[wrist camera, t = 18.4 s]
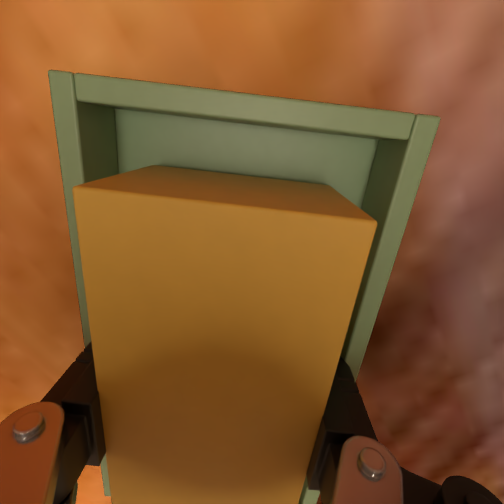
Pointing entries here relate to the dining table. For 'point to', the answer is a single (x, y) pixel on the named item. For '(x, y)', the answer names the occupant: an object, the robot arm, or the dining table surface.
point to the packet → (215, 327)
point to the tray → (247, 161)
